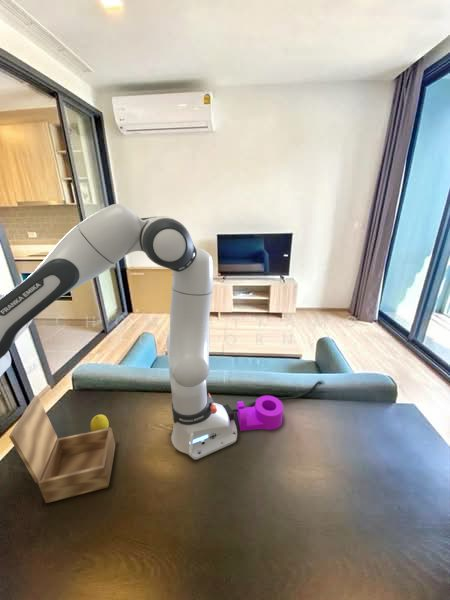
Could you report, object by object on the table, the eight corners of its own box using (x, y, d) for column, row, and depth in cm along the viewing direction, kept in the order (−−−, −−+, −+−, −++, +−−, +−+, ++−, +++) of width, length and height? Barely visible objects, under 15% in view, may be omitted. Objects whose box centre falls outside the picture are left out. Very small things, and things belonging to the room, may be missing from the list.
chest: (115, 445, 82) (111, 427, 80) (108, 487, 70) (103, 467, 67) (62, 457, 79) (56, 438, 76) (45, 503, 66) (37, 483, 64)
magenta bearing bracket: (277, 407, 97) (278, 394, 95) (285, 428, 88) (286, 414, 86) (236, 410, 96) (236, 397, 93) (240, 432, 86) (241, 418, 84)
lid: (37, 395, 70) (34, 395, 70) (12, 435, 57) (8, 436, 57) (57, 437, 76) (54, 438, 76) (39, 481, 63) (35, 482, 63)
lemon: (103, 441, 83) (99, 423, 81) (89, 439, 84) (84, 421, 82) (113, 428, 89) (109, 410, 86) (100, 426, 90) (95, 408, 87)
